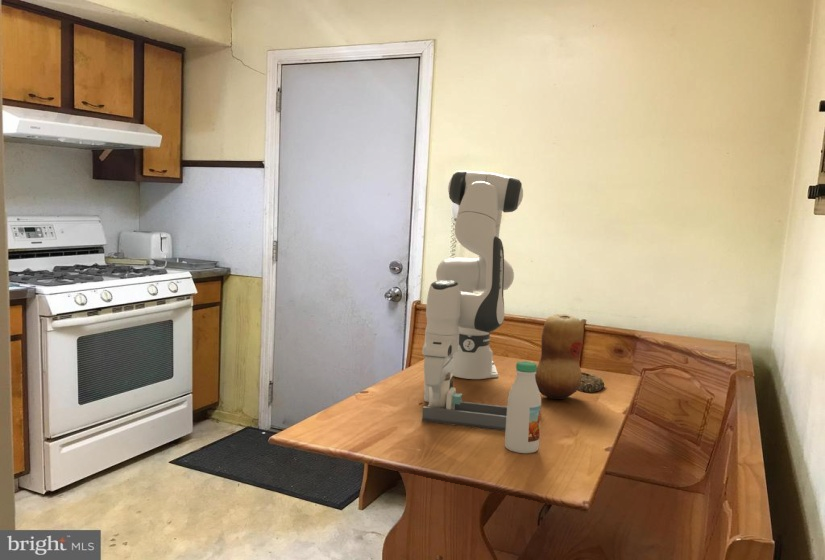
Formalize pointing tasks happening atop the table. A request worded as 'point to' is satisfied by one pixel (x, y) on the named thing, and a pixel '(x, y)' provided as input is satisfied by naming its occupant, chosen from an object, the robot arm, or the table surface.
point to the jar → (444, 390)
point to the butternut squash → (560, 357)
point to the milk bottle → (523, 411)
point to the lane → (469, 415)
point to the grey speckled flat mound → (590, 383)
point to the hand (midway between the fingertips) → (439, 395)
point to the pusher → (453, 399)
